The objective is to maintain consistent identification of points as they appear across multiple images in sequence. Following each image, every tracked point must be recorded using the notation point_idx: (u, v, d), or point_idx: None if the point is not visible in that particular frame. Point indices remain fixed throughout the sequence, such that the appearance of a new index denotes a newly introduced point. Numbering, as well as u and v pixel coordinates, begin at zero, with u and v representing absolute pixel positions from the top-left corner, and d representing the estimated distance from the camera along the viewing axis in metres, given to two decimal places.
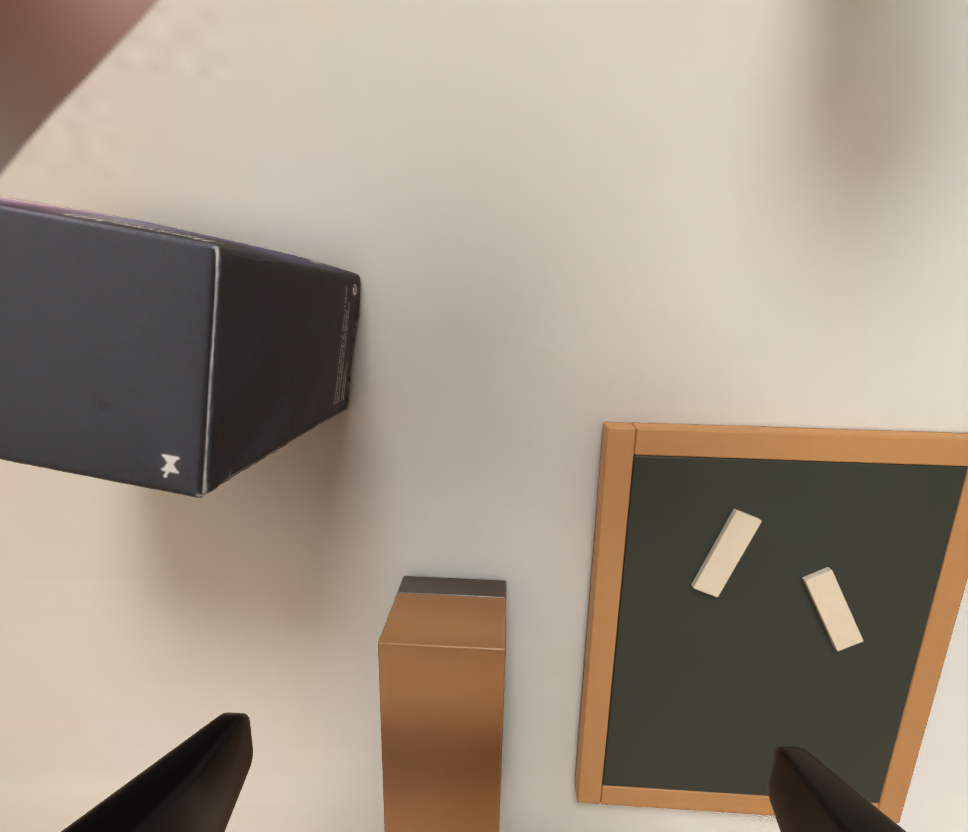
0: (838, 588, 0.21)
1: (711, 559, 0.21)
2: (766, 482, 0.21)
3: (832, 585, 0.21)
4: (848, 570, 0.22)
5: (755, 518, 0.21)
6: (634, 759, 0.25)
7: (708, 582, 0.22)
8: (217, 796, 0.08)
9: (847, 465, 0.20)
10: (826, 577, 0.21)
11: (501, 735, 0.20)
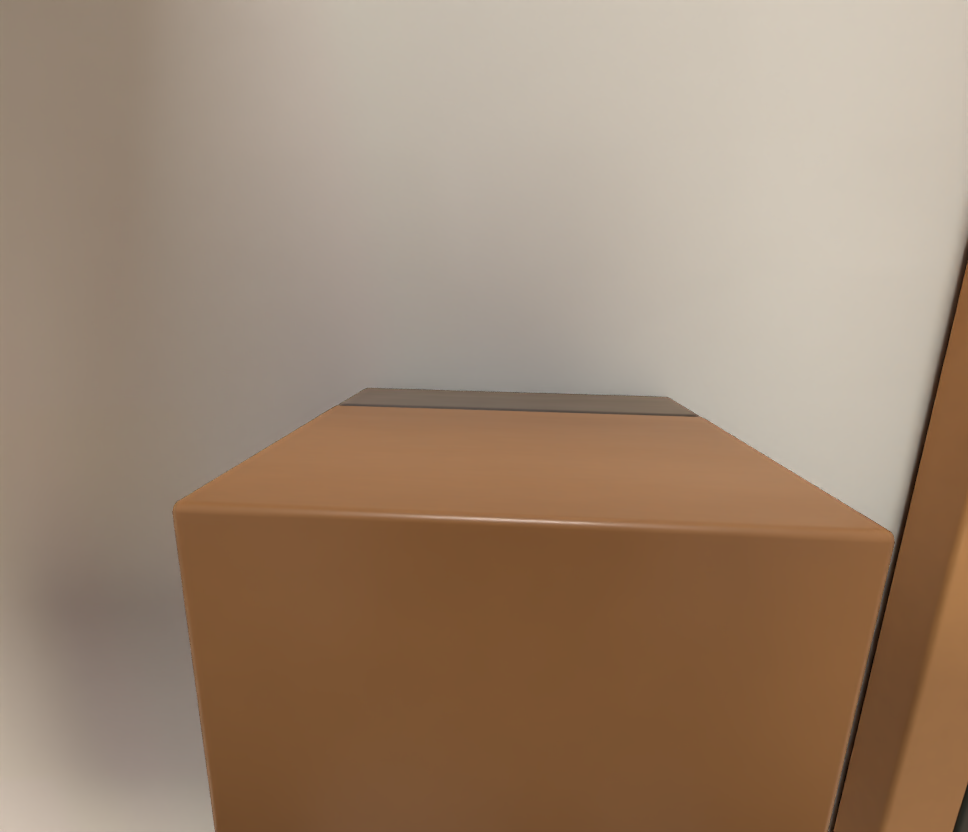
0: None
1: None
2: None
3: None
4: None
5: None
6: None
7: None
8: None
9: None
10: None
11: None
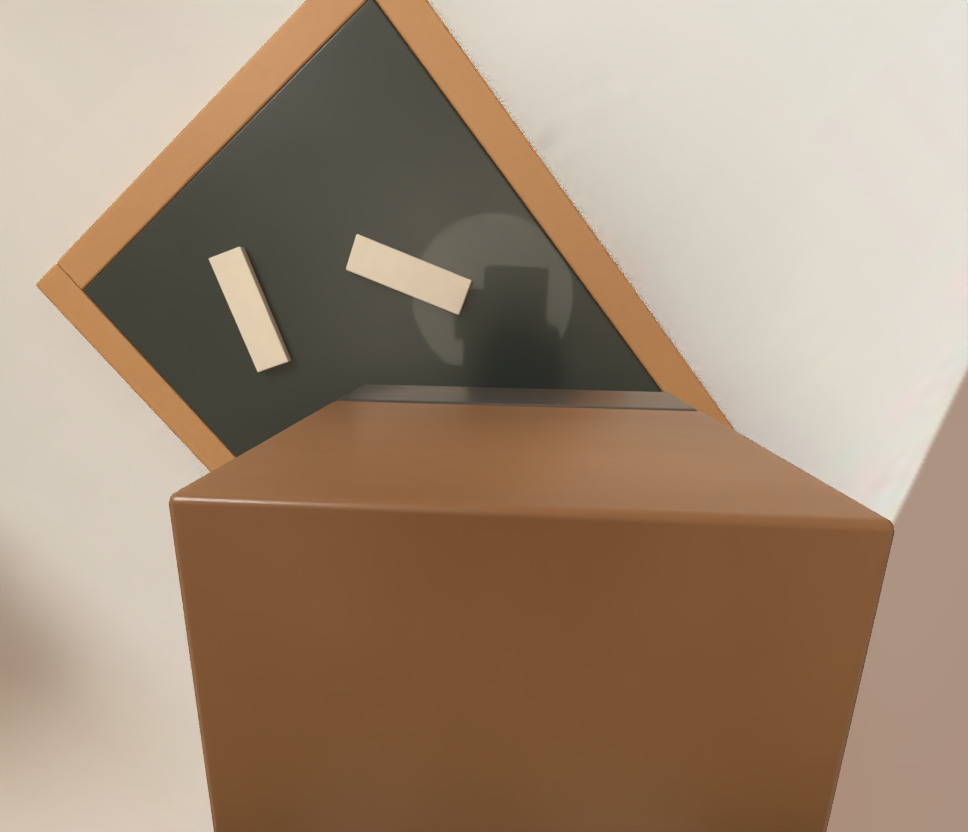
0: (384, 247, 0.16)
1: (240, 327, 0.17)
2: (211, 204, 0.16)
3: (374, 249, 0.16)
4: (382, 220, 0.16)
5: (233, 249, 0.16)
6: None
7: (263, 353, 0.17)
8: None
9: (260, 113, 0.15)
10: (360, 246, 0.16)
11: None
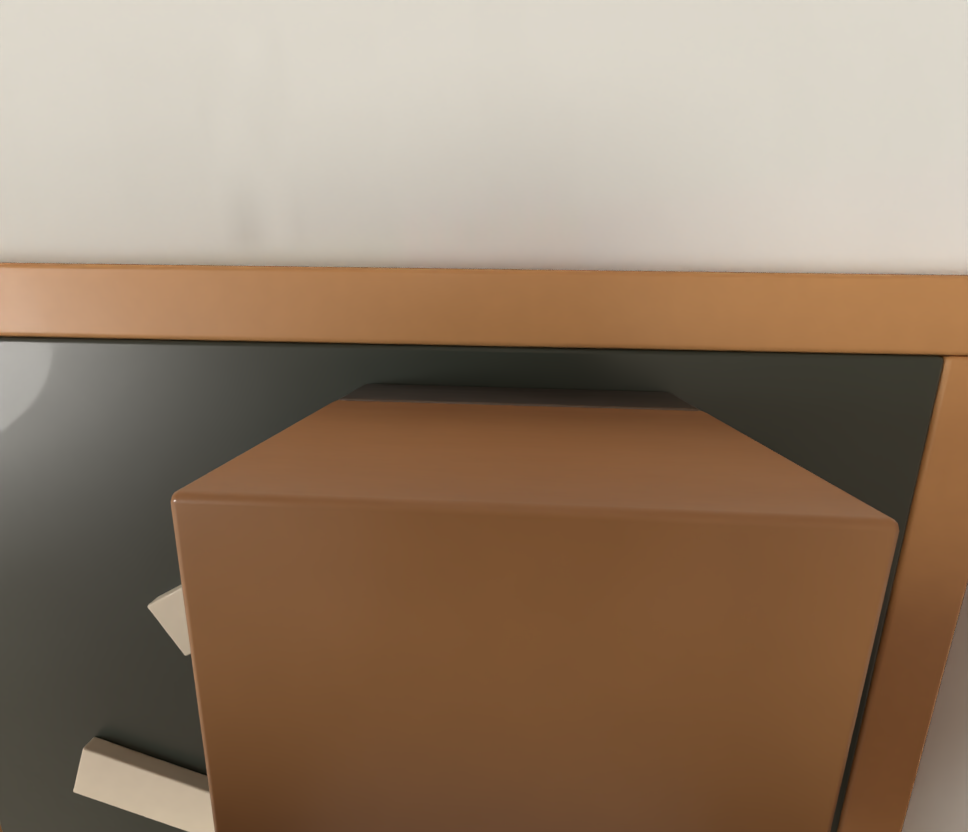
0: None
1: (185, 828, 0.10)
2: (17, 728, 0.10)
3: None
4: None
5: (82, 757, 0.10)
6: None
7: None
8: None
9: None
10: (166, 615, 0.09)
11: None
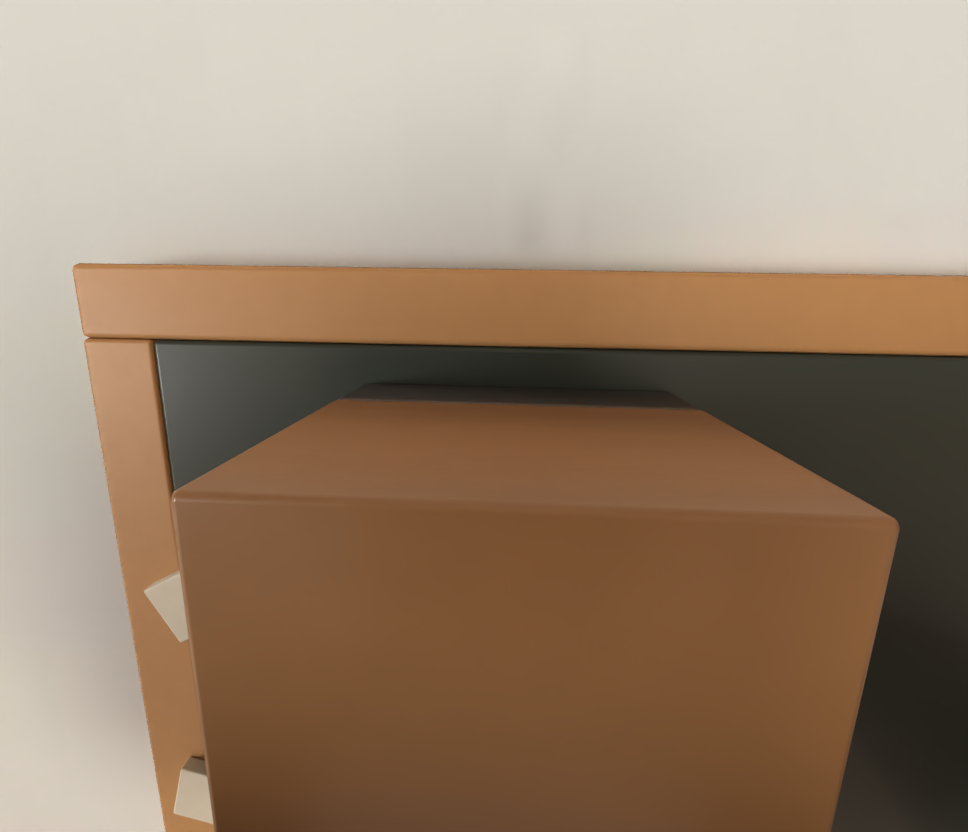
0: None
1: None
2: None
3: (181, 587, 0.09)
4: None
5: (180, 777, 0.10)
6: None
7: None
8: None
9: None
10: (162, 601, 0.09)
11: None
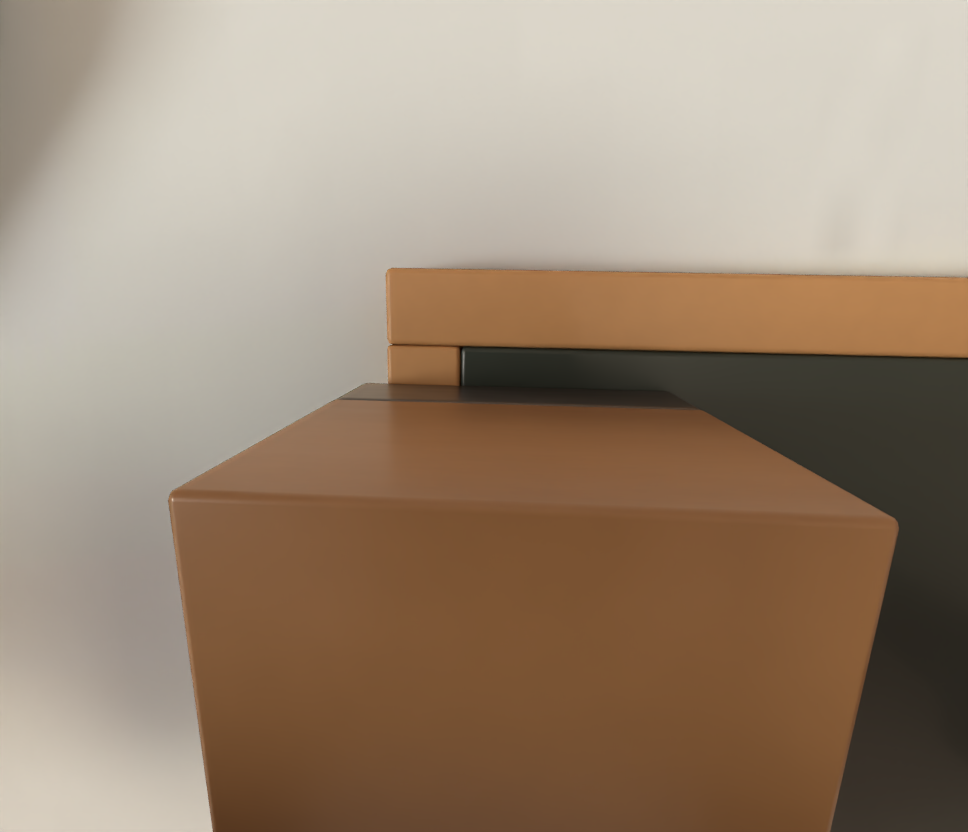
0: None
1: None
2: None
3: None
4: None
5: None
6: None
7: None
8: None
9: None
10: None
11: None
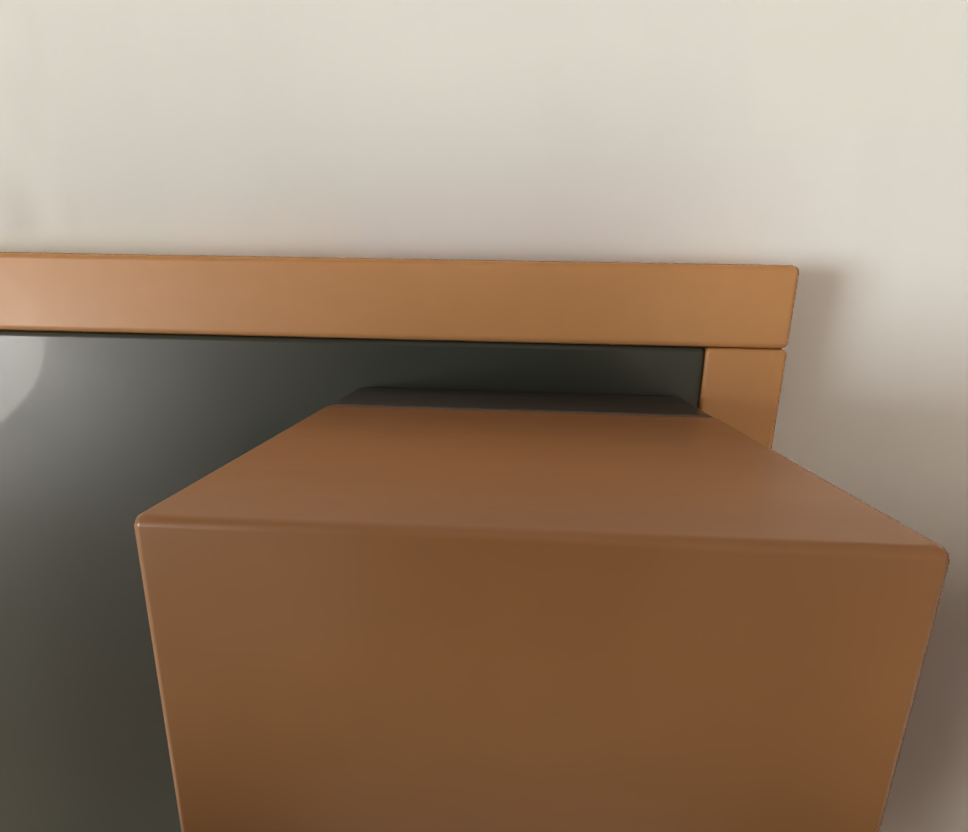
0: None
1: None
2: None
3: None
4: None
5: None
6: None
7: None
8: None
9: None
10: None
11: None
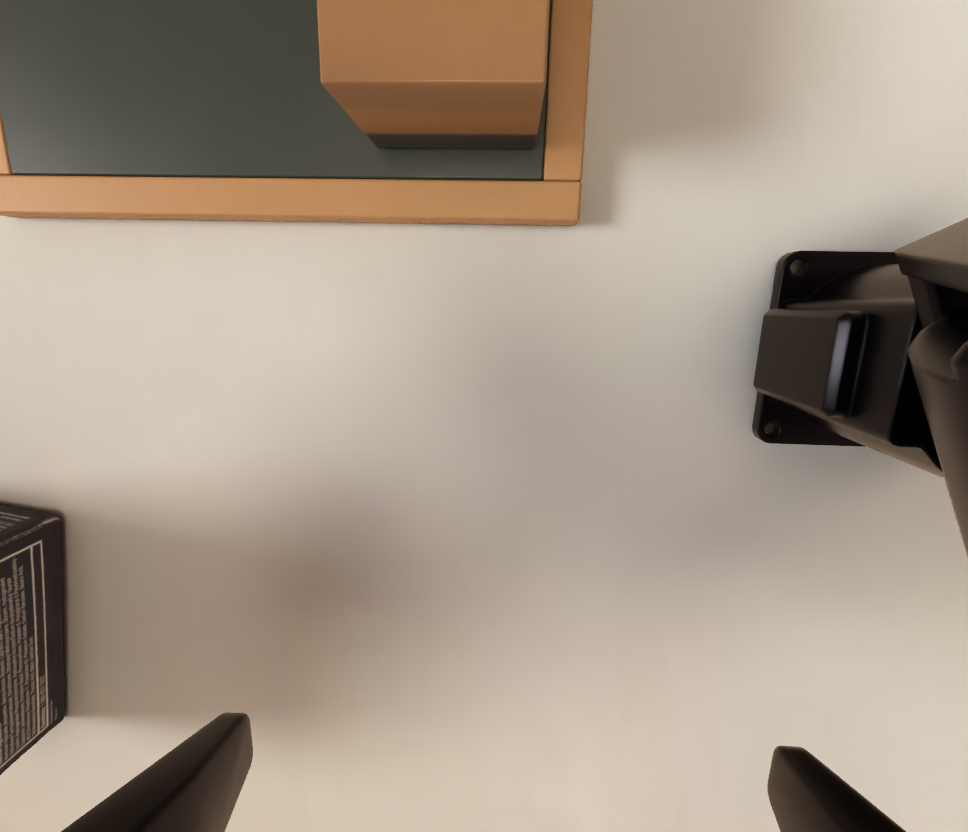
0: None
1: None
2: None
3: None
4: None
5: None
6: None
7: None
8: (217, 796, 0.08)
9: None
10: None
11: None
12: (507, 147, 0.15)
